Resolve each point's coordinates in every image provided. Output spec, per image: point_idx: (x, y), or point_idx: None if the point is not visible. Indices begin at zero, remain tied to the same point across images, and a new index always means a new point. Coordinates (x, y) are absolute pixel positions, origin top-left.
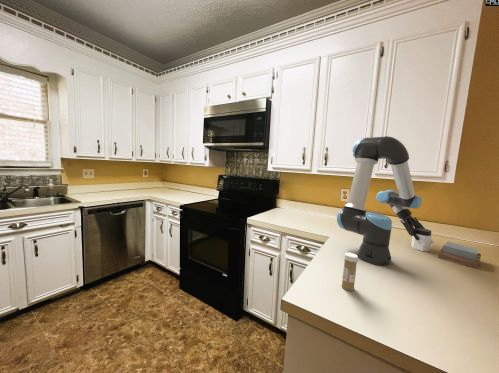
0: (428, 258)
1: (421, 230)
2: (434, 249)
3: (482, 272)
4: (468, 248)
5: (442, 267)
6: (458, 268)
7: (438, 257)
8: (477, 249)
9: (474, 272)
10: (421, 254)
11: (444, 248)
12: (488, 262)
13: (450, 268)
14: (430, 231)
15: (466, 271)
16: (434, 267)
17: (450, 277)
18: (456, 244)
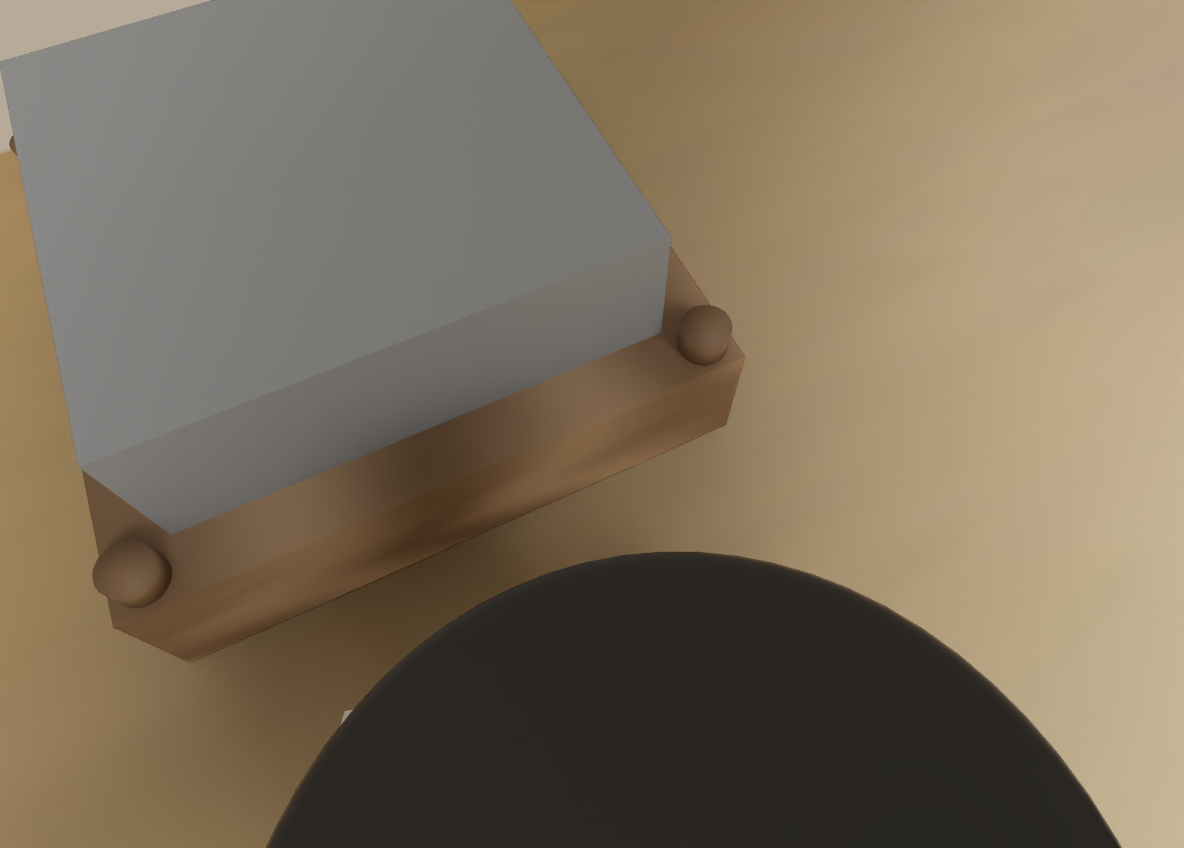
0: (973, 428)
1: (1039, 815)
2: (245, 807)
3: (575, 41)
4: (232, 81)
5: (1032, 178)
6: (797, 135)
7: (724, 417)
8: (97, 35)
9: (691, 51)
10: (953, 597)
11: (663, 270)
12: (3, 195)
13: (929, 147)
14: (584, 583)
15: (776, 76)
16: (1171, 192)
17: (1177, 19)
18: (168, 264)
